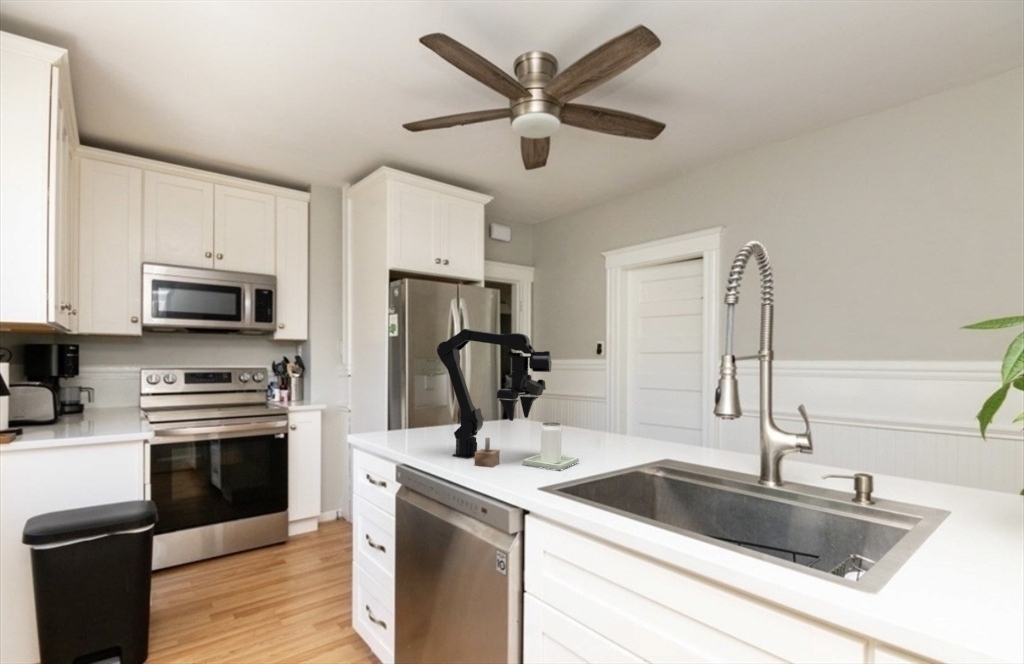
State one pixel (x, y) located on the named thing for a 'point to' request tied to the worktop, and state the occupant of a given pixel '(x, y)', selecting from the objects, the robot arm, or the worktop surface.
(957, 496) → the worktop surface
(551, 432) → the can
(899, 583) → the worktop surface
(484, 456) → the wooden peg block
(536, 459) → the tray
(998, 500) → the worktop surface
